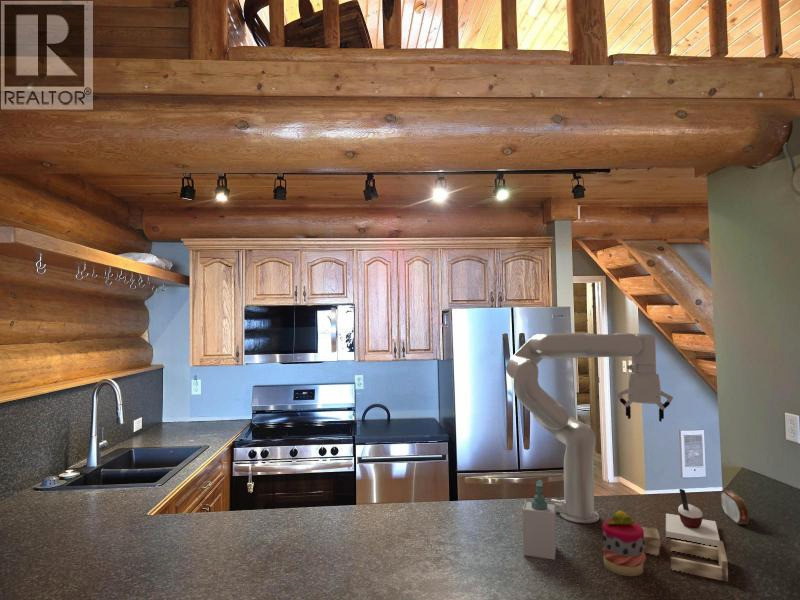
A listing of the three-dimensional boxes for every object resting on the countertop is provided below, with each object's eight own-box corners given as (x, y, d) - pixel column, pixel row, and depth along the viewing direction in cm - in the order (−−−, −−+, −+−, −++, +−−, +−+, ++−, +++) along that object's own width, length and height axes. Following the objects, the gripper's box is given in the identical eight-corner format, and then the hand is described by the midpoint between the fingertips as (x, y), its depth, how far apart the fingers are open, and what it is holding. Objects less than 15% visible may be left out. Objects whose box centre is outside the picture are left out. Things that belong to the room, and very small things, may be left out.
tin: (750, 529, 161) (749, 502, 161) (739, 528, 162) (738, 501, 162) (729, 511, 176) (728, 486, 176) (719, 510, 176) (718, 486, 177)
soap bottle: (556, 546, 148) (555, 480, 149) (554, 560, 140) (554, 490, 141) (525, 542, 151) (525, 477, 152) (523, 555, 143) (522, 487, 143)
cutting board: (665, 537, 154) (665, 531, 154) (666, 519, 168) (666, 513, 168) (720, 547, 148) (719, 540, 148) (715, 527, 162) (715, 521, 162)
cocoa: (695, 522, 162) (694, 484, 163) (710, 529, 156) (710, 489, 157) (669, 523, 160) (668, 484, 161) (683, 530, 154) (683, 490, 155)
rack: (671, 569, 134) (670, 550, 135) (670, 549, 146) (670, 532, 146) (728, 581, 128) (727, 561, 129) (723, 559, 140) (722, 541, 140)
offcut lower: (639, 553, 145) (639, 544, 145) (641, 542, 152) (640, 534, 152) (658, 557, 142) (658, 548, 143) (659, 546, 149) (659, 537, 150)
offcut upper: (642, 545, 145) (642, 536, 145) (639, 535, 151) (639, 526, 151) (660, 547, 143) (660, 538, 143) (656, 537, 150) (656, 528, 150)
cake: (596, 557, 142) (595, 503, 142) (634, 557, 141) (633, 503, 142) (610, 576, 131) (610, 517, 132) (652, 577, 131) (651, 518, 131)
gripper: (615, 369, 175) (616, 419, 174) (672, 371, 167) (673, 424, 166) (617, 367, 181) (618, 415, 181) (672, 369, 173) (673, 420, 172)
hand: (644, 419), depth 173 cm, fingers open, 9 cm apart
